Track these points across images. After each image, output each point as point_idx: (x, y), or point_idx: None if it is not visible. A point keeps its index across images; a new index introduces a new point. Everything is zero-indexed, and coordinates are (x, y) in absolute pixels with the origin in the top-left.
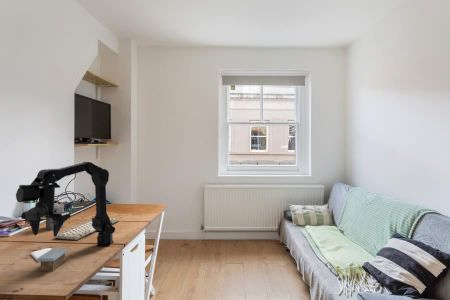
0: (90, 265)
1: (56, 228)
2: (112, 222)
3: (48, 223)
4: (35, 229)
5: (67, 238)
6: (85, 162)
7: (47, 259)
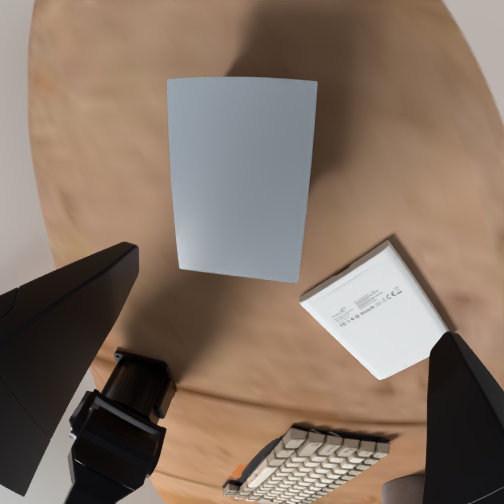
0: (63, 158)
1: (6, 303)
2: (228, 486)
3: (422, 492)
4: (464, 403)
5: (335, 438)
6: None
7: (224, 77)
